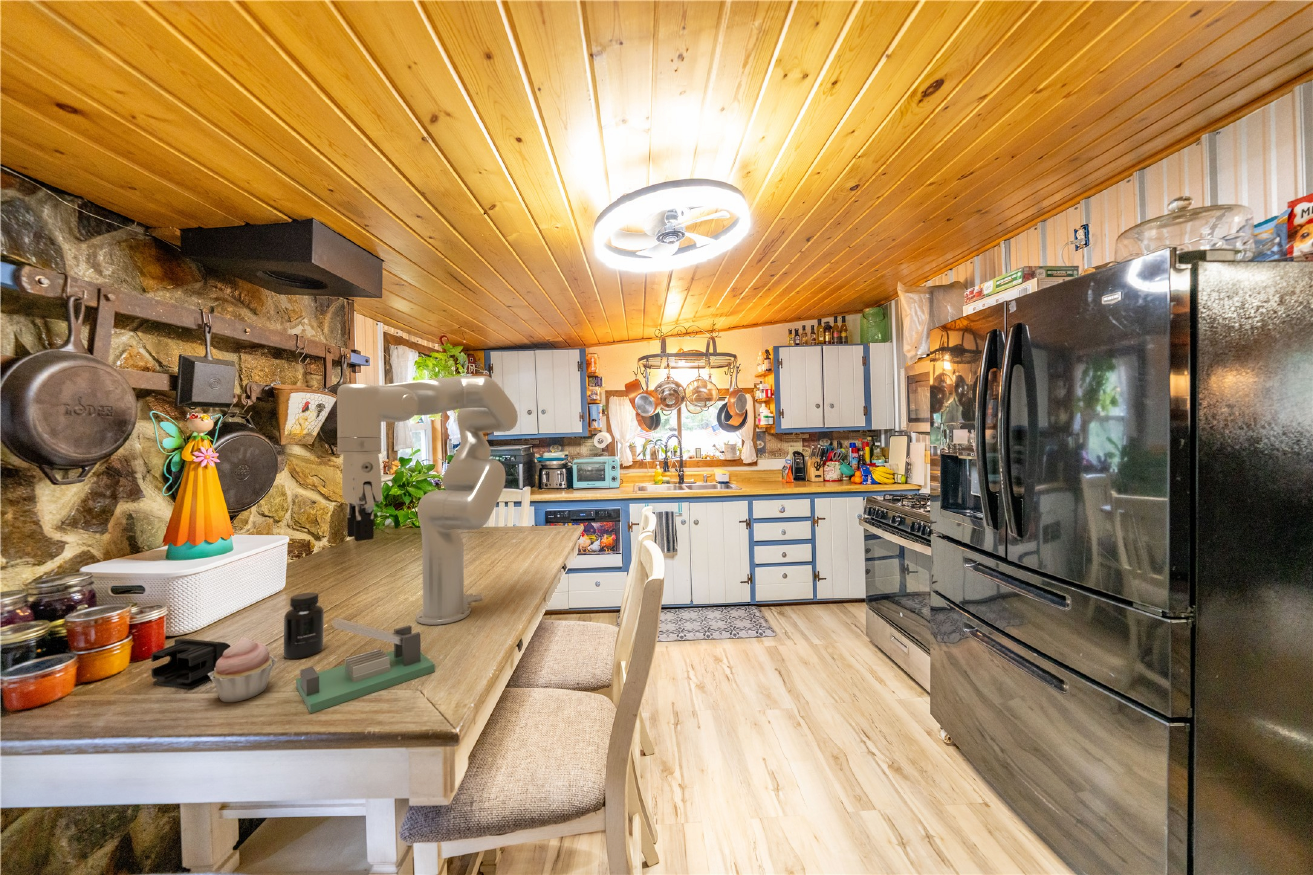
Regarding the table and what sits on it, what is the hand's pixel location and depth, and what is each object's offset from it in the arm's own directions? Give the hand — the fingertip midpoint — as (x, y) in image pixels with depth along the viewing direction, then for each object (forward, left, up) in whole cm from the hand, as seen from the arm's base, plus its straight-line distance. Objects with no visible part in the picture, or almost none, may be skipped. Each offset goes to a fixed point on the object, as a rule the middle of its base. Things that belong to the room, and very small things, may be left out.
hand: (360, 537), depth 99 cm
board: (+1, +8, -25) cm, 27 cm away
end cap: (+24, -16, -26) cm, 39 cm away
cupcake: (+18, -2, -26) cm, 31 cm away
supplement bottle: (+7, -14, -26) cm, 30 cm away
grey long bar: (0, +8, -18) cm, 19 cm away
